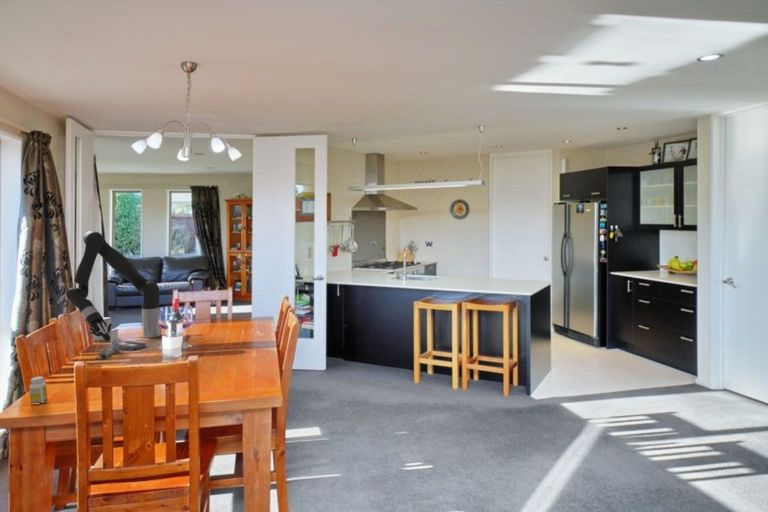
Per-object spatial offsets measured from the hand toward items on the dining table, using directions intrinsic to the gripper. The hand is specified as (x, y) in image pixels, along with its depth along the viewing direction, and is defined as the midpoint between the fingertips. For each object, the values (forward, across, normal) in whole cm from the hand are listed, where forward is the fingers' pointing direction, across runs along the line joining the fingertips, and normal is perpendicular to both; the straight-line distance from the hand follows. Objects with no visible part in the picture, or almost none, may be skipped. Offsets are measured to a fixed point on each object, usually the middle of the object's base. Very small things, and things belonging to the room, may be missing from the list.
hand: (108, 340), depth 274 cm
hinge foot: (+11, -11, -3) cm, 16 cm away
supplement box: (-17, +18, +25) cm, 35 cm away
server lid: (+7, +10, +1) cm, 12 cm away
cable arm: (+9, -6, -2) cm, 11 cm away
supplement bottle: (+38, -65, -30) cm, 81 cm away
